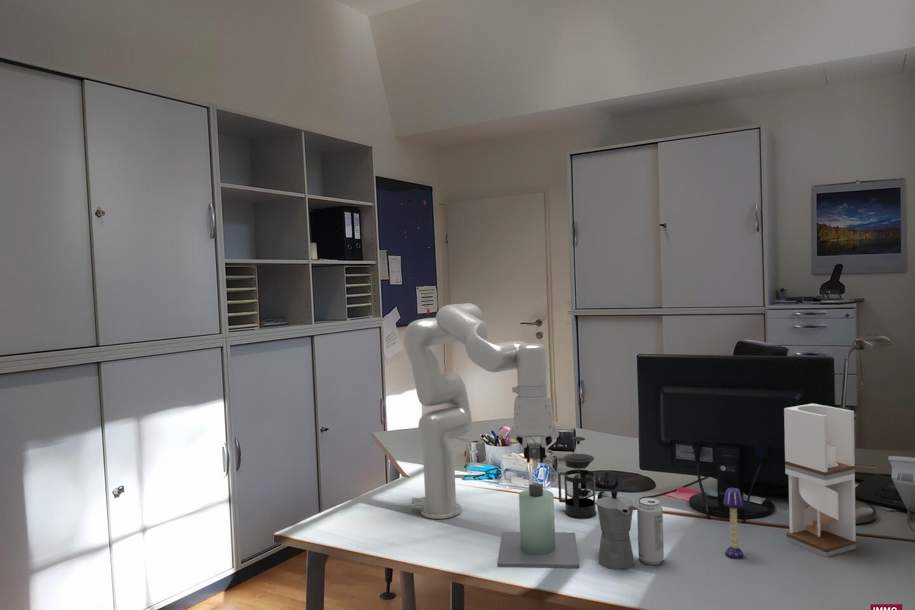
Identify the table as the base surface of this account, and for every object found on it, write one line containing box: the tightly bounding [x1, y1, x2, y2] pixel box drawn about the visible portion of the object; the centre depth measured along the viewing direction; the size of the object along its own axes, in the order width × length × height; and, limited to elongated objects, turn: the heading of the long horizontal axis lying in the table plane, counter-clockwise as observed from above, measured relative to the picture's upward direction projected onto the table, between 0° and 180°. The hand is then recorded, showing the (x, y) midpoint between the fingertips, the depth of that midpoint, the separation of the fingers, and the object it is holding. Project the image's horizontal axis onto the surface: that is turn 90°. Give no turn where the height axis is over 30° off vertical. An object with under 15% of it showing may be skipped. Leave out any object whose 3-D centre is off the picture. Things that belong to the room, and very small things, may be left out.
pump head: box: [528, 442, 541, 470], centre depth 168 cm, size 3×8×6 cm, turn 173°
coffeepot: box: [595, 489, 636, 570], centre depth 163 cm, size 15×9×18 cm, turn 13°
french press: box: [557, 436, 598, 520], centre depth 196 cm, size 12×9×23 cm
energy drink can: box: [636, 497, 665, 566], centre depth 162 cm, size 6×6×15 cm
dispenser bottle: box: [496, 482, 580, 569], centre depth 171 cm, size 20×20×17 cm
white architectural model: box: [783, 403, 857, 558], centre depth 167 cm, size 11×11×35 cm
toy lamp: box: [723, 487, 745, 560], centre depth 163 cm, size 5×5×17 cm
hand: (534, 460), depth 170 cm, fingers closed on pump head, 2 cm apart
